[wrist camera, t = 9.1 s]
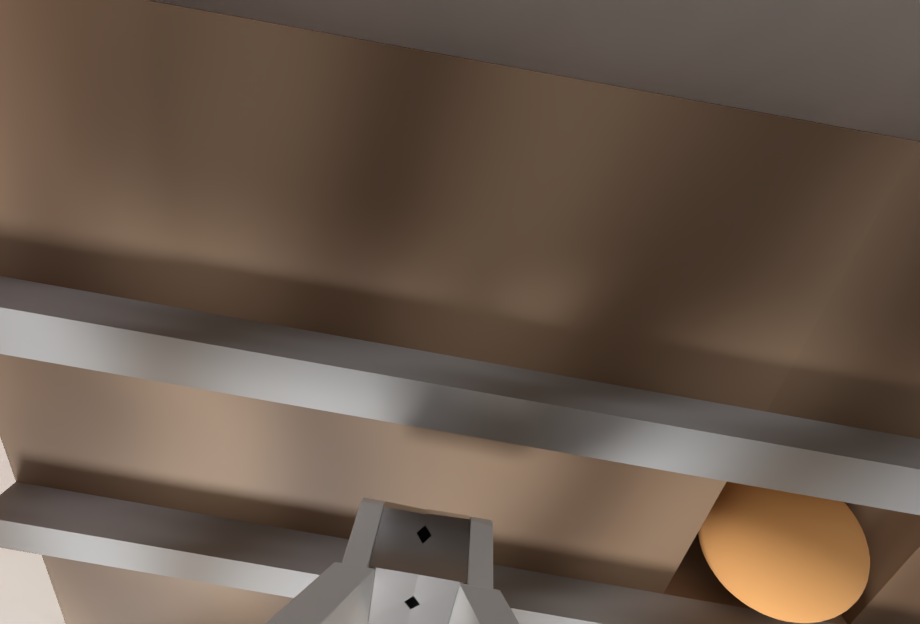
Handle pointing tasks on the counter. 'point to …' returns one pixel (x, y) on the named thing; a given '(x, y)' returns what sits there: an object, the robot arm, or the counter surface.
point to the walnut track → (430, 319)
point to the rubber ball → (786, 552)
